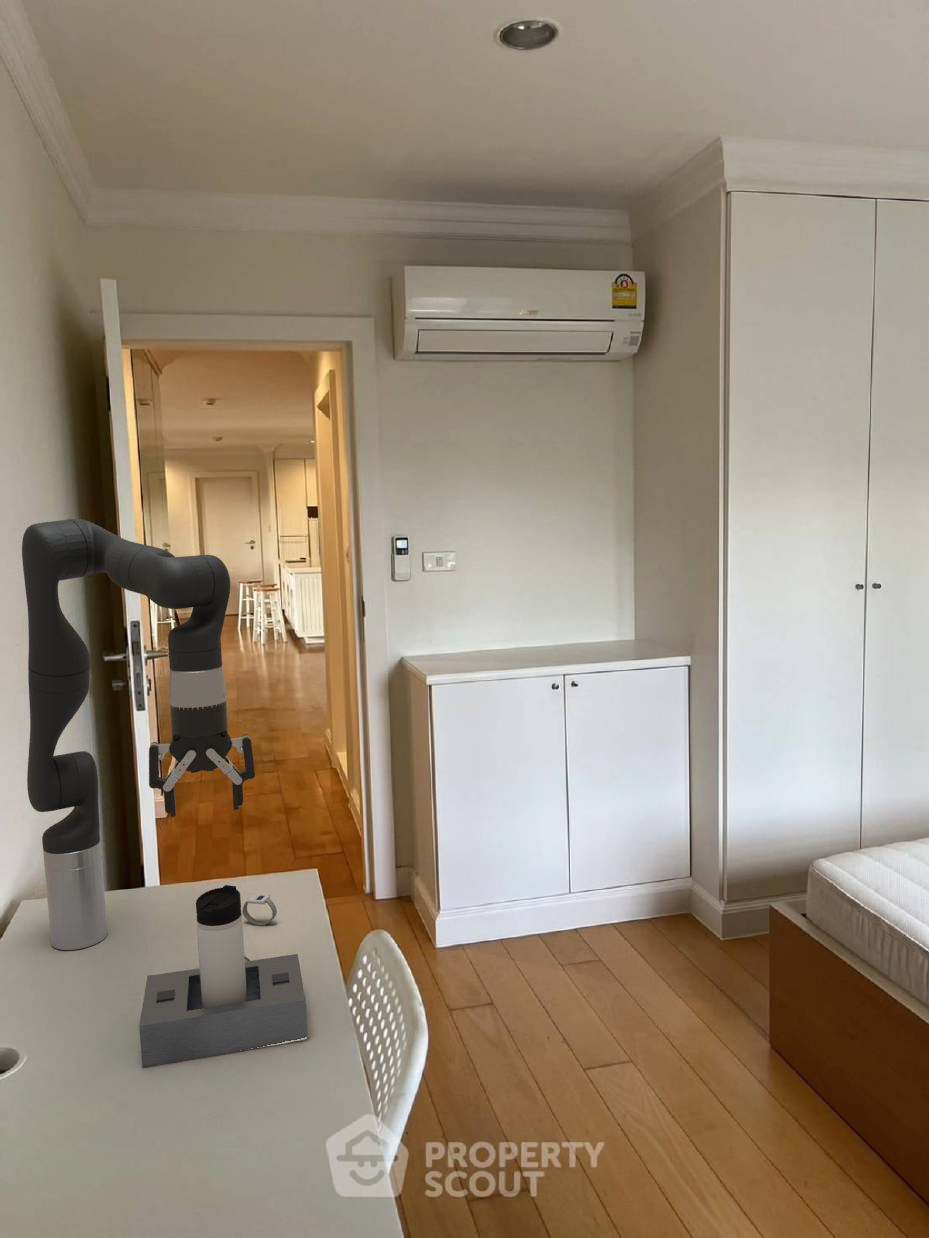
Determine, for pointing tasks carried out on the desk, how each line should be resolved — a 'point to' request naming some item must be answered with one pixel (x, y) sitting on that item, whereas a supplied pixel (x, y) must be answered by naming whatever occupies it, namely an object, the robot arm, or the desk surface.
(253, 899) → the wristwatch
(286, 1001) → the grey slotted block
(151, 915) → the desk surface
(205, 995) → the travel mug
